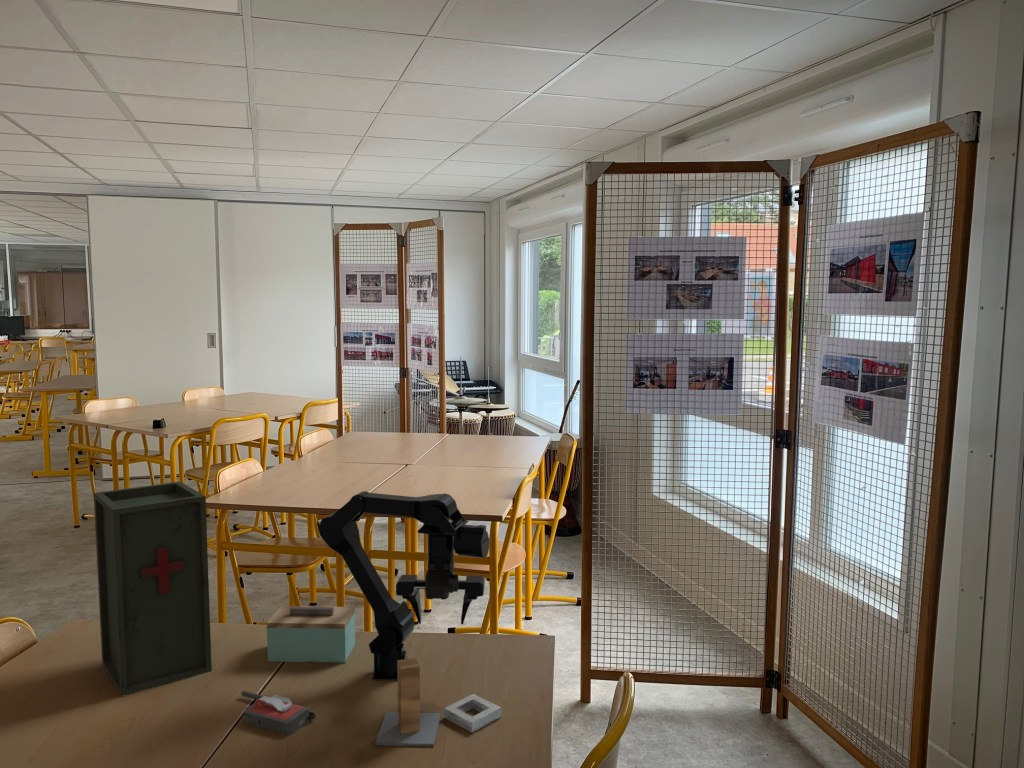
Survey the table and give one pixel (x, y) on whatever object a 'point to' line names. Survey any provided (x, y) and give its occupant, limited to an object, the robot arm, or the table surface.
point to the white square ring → (486, 716)
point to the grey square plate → (393, 736)
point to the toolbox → (311, 634)
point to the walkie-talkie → (276, 713)
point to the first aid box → (153, 584)
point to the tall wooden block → (408, 695)
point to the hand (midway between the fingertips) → (441, 623)
